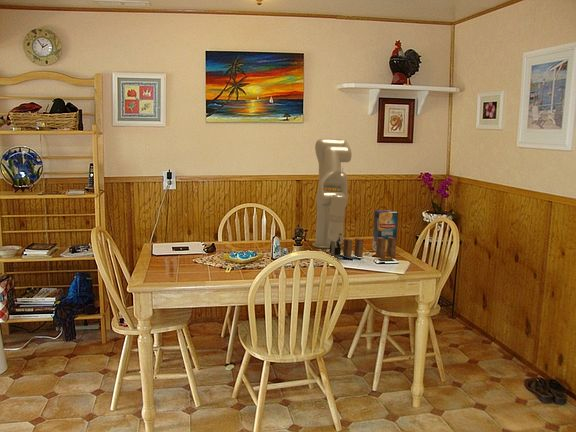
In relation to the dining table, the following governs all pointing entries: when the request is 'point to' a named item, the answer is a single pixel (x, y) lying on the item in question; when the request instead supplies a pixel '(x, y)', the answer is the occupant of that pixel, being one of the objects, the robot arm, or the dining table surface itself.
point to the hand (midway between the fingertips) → (334, 253)
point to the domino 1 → (333, 250)
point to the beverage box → (384, 226)
